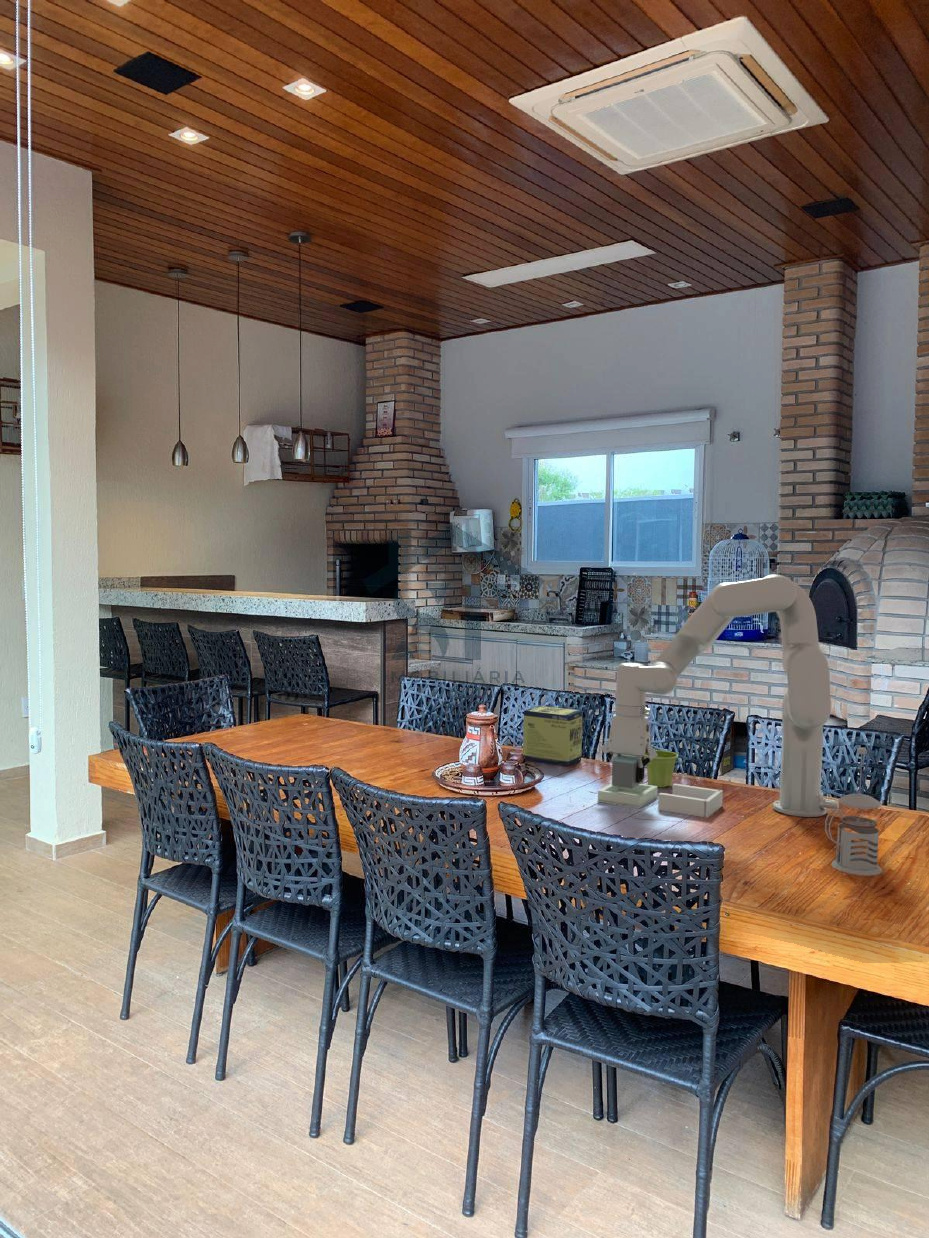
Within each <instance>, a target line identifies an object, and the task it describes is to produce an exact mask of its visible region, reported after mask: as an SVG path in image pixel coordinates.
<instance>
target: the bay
mask: <svg viewBox="0 0 929 1238" xmlns="http://www.w3.org/2000/svg"><path fill="white" fill-rule="evenodd" d="M723 792H724V791H723V790H722V789H715V788H707V787H700V786H695V785H688V784H687V785H686V784H680V783H673V784H672V794H671V793H665V792H660V793H658V802H657V803H658V804H657V810H658V811H663V812H671V813H677V814H682V815H689V816H694V817H695V816H696V817H699V818H709V817H711V816H712V815H713V814H715V813H716V812H717V811H718V810H719V809H721V807H723V795H724V794H723Z"/></svg>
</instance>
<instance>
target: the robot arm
mask: <svg viewBox="0 0 929 1238" xmlns="http://www.w3.org/2000/svg"><path fill="white" fill-rule="evenodd" d="M774 612H776V614H777V615H778V619H779V622H780V623H779V625H780V632H781V646H782V653H781V654H782V656H781V657H782V660H781V662H782V663H781V664H782V667H783V670H784V672H785V673H786V679H787V680H786V681H787V691H786V693H785V694H784V696H783V700H782V703H781V704H782V705H781V715H782V716H781V717H782V718H781V719H782V737H781V738H782V740H781V757H780V759H781V761H780V782H779V783H780V784H779V785H780V787H779V788H780V789H779V800H776V801H774V802H773V803H772V809H774V811H777V812H779V813H781V814H784V815H789V816H794V817H802V818H803V817H804V818H815V817H816V818H817V817H822V816H824V815H826V814H827V809H830V810H833V809H835V808H839V809H840V805H839V804H840V802H839V801H836V799H829V798H828V799H826V798H825V797H824V793H823V792H822V791H821V789H822V770H823V769H822V762H823V750H824V749H823V748H824V747H823V746H824V745H823V744H824V726H825V725H826V724H827V722H828V721H829V718H830V716H831V711H832V700H831V699H832V697H831V683H830V682H831V680H830V668H829V663H828V659H827V657H826V655H825V654H824V652H823V651H822V650H821V649H820V643H819V642H820V641H819V633H818V624H817V623H818V622H817V616H816V610H815V607H814V604H813V602H812V599H811V598H810V597H809V595H808V594H807V592H806V591H805V590H804V589H803V588H802V587H801V586H800V585H799V584H797V582H794V581H793V580H791V579H790V578H789V577H788V576H784V575H781V574H776V573H775V574H774V573H773V574H768V575H766V576H763V578H755V579H750V580H744V581H737V582H736V581H734V582H730V581H724V582H720V583H718V584H717V585H716V586H714V587H713V589H712V590H711V591H710V592H709V594H708V595H707V596H706V597H705V598H704V600H703V601H702V602H701V603H700V605H698V607H697V608H696V609H695V611H694V612H693V613H692V614H691V616H690V617H689V618H688V619H687V621H685V623H684V624H683V625H682V626H681V627H680V629H679V630H678V632H677V633H676V634H675V636H674V637H673V638H672V640H671V641H670V642H669V643H668V644H667V645H666V647H665V648H664V649H663V650H662V651H661V653H660V654H659V655H658V657H656V659H655V660H654V661H653V662H652V664H651V665H650V666H645V664H643V663H639V662H638V663H637V662H622V663H620V664H619V665H618V666H617V668H616V685H615V687H616V688H615V689H616V691H615V692H616V693H615V713H614V714H613V715H612V719H611V723H610V729H609V735H608V740H607V741H606V742H605V743H604V744H603V745H602V746H601V747H600V750H601V751H602V752H603V753H604V754H605V755H606V757H607V759H608V760H609V761H610V764H611V766H613V758H615V757H618V756H619V755H621V754H623V755H630V756H636V759H637V763H638V767H637V768H636V783H640V782H641V781H642V780H643V781H644V779H645V767H647V764H648V763H649V762H650V761H651V760H653V759H654V758H656V757H657V756H658V754H657V753H656V752H655V748H653V746H652V745H651V744H652V743H651V729H650V728H651V727H650V720H649V717H648V716H647V715H649V714H650V715H651V708H647V705H646V699H647V698H646V697H647V696H646V695H647V693H648V694H654V695H660V696H663V695H669V694H671V693H672V692H673V691H674V690H675V689H676V686H677V683H678V678H679V677H680V676H681V675H682V673H683V672H684V671H685V670H686V669H687V668H688V666H689V665H690V664H691V663H692V662H693V660H694V659H696V658H697V657H698V656H699V655H701V654H702V653H704V652H706V651H707V650H708V649H709V648H710V647H711V646H712V645H713V644H714V643H715V642H716V640H717V639H718V638H719V636H720V635H721V634H722V633H723V632H724V631H725V629H726V628H727V627H728V626H729V624H730V623H731V622H732V621H733V620H734V618H740V617H741V618H742V617H749V616H750V617H751V616H755V615H761V614H767V613H774ZM648 753H649V754H650V755H649V756H648V757H647V758H646V759H645V756H644V755H645V754H648ZM839 809H835V810H834V811H839Z"/></svg>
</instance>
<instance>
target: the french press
mask: <svg viewBox="0 0 929 1238" xmlns="http://www.w3.org/2000/svg"><path fill="white" fill-rule="evenodd" d="M856 753H857V754H858V755H859V754H860V772H859V774H860V775H859V792H857V793H849V794H846V795H844V796H841V797H839V798H838V799H837V802H839V804H840V805H843V806H844V807H849V808H853V809H858V813H857V814H858V815H855V816H854V815H844V814H845V812H844V810H843V809H840V807H839V808H835V809H838V810H835V809H831V810H830V811H829V813H828V814H827V816H826V818H825V821H824V831H825V833H826V836H827V838H829V840H831V841H832V842H834V843H835V844H836V854H835V855H836V858H835V859H834V860H833V861H832V862H831V863H830V866H832V868H834V869H836V870H837V871H838V872H843V873H846V874H851V875H855V876H856V875H857V876H866V877H867V876H869V877H870V876H877V875H880V874H882V872H883V869H882V868H881V867H880V866H879V865H878V852H879V851H878V850H879V829H878V828H877V826H878V824H879V823H878V822H877V821H876V820H874V819H871V818H869V817H865V816H863V817H862V816H860V809H863V810H864V809H865V810H867V809H868V810H871V809H873V810H874V809H878V808H880V807H881V805H882V803H881V802H880V801H879V800H877V799H875V798H874V797H872V796H871V795H868V794H864V793H861V788H862V787H861V785H862V765H863V755H867V754H868V751H867V748H865V747H858V748H857V749H856ZM834 811H836V812H834ZM833 812H834V814H833V815H832V816H831V818H830V821H829V824H828V830H827V822H828V819H829V817H830V815H831V814H832V813H833ZM841 812H842V814H841ZM837 813H838V815H839V816H840V819H839V821H840V822H841V823H840V824H838V825H837V840H834V838H833V836H832V832H831V823H832V821H833V818H834V817H835V816H836V815H837ZM844 829H849V830H851V831H853V832H851V831H848V830H844ZM840 831H841V832H840ZM856 840H860V841H859V842H858V841H856ZM867 842H868V843H867ZM857 846H859V847H857ZM860 847H862V848H860ZM866 848H867V849H866ZM859 853H862V854H859Z"/></svg>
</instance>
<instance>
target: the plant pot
mask: <svg viewBox="0 0 929 1238" xmlns="http://www.w3.org/2000/svg"><path fill="white" fill-rule="evenodd" d="M654 750H655V749H654ZM655 752H656V753H657V754H658V756H657V757H656V758H654V759H653V760H651V761H650V762H649V763H648V764H647V765H646V772H647V781H648V785H653V786H657V788H666V787H671V785H672V782H673V781H672V780H673V775H674V769H675V766H676V765H675V764H676V762H677V759H678V758H679V754H678V753H677V752H673V751H669V750H655ZM649 755H650V754H649V753H648V754H645V755H644V757H645V759H646V758H647V757H648V756H649Z"/></svg>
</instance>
